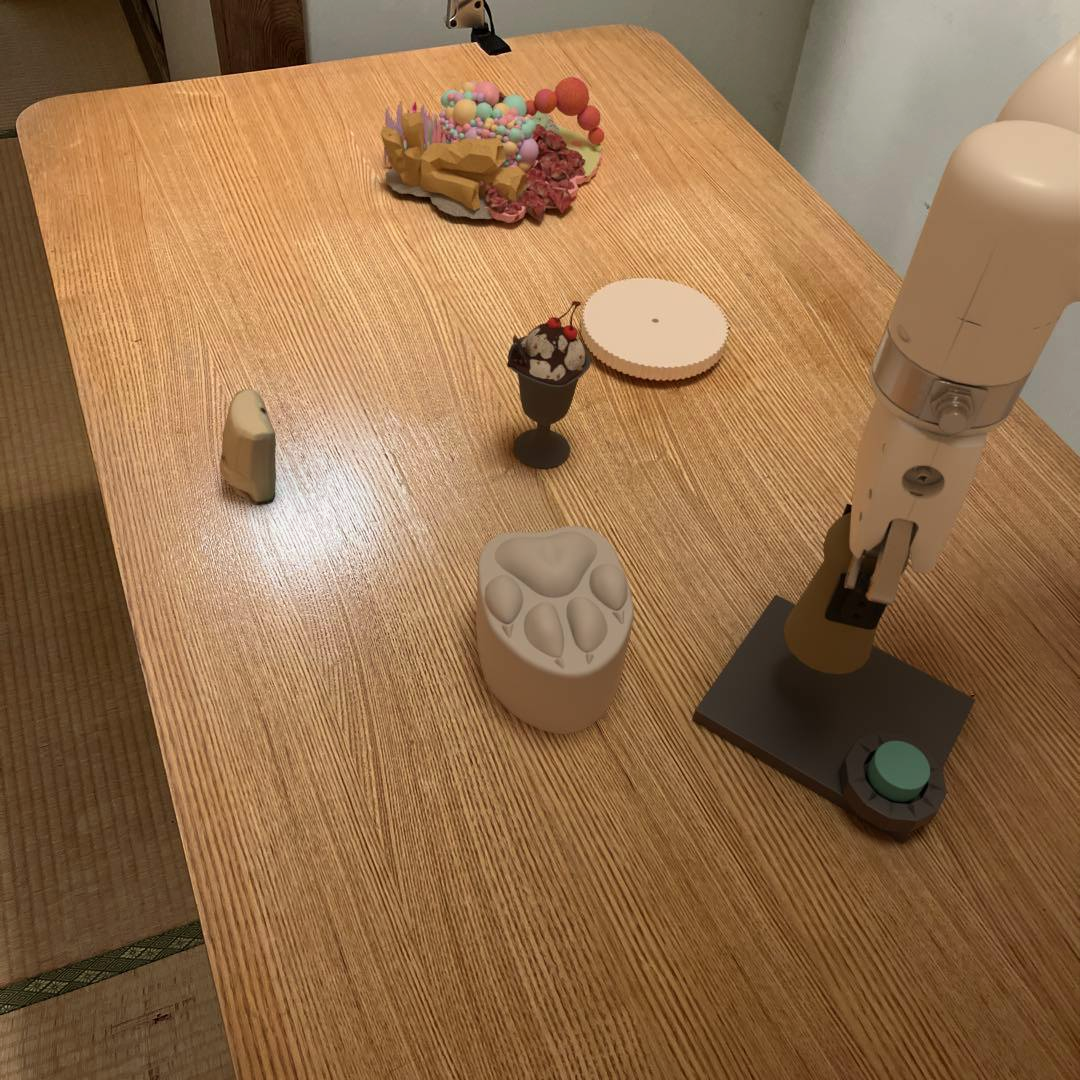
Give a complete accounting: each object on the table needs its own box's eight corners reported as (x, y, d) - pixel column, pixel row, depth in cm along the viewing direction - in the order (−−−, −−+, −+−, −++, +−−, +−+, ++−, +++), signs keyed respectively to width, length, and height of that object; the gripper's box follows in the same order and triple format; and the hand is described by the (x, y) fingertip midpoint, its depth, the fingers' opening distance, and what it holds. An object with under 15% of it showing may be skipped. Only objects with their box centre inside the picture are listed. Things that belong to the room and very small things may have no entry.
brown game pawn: (779, 662, 72) (822, 555, 64) (787, 595, 76) (828, 486, 68) (870, 683, 72) (924, 578, 63) (873, 614, 76) (924, 507, 67)
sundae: (593, 441, 95) (612, 300, 83) (555, 486, 91) (570, 344, 79) (529, 412, 97) (539, 271, 85) (489, 455, 93) (494, 313, 81)
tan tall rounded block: (307, 481, 89) (297, 409, 83) (263, 518, 86) (249, 446, 80) (255, 452, 91) (241, 379, 85) (211, 488, 88) (193, 414, 82)
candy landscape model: (555, 247, 114) (561, 167, 107) (350, 199, 118) (344, 119, 111) (616, 140, 130) (625, 64, 123) (435, 100, 134) (434, 25, 127)
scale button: (929, 772, 72) (938, 759, 70) (910, 812, 69) (918, 799, 68) (879, 744, 73) (887, 730, 71) (858, 782, 71) (866, 769, 69)
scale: (978, 714, 78) (994, 691, 76) (909, 860, 70) (925, 839, 68) (771, 605, 84) (780, 580, 81) (686, 728, 76) (693, 704, 73)
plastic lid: (750, 340, 106) (755, 319, 104) (669, 409, 98) (673, 388, 96) (635, 281, 111) (638, 260, 109) (550, 342, 103) (552, 321, 102)
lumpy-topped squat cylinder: (599, 582, 84) (611, 506, 78) (641, 723, 76) (659, 651, 69) (467, 597, 82) (468, 520, 76) (496, 744, 74) (500, 672, 67)
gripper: (1030, 495, 50) (906, 708, 64) (1014, 290, 61) (912, 507, 75) (869, 461, 51) (781, 677, 65) (882, 264, 62) (805, 484, 76)
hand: (852, 584), depth 70 cm, fingers closed on brown game pawn, 5 cm apart
